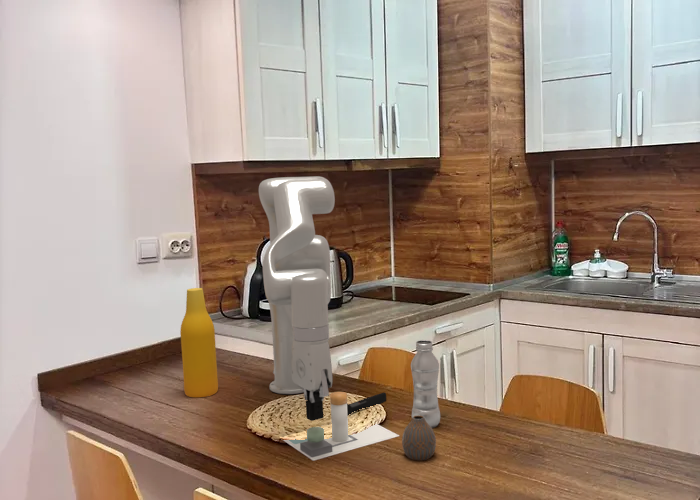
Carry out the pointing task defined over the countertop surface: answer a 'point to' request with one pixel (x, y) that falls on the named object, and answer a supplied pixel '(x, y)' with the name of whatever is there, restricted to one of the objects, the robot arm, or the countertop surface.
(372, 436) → the sheet
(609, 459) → the countertop surface
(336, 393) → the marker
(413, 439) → the vase
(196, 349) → the beer bottle
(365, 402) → the electric trimmer
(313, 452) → the button housing
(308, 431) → the button
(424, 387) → the plastic bottle
